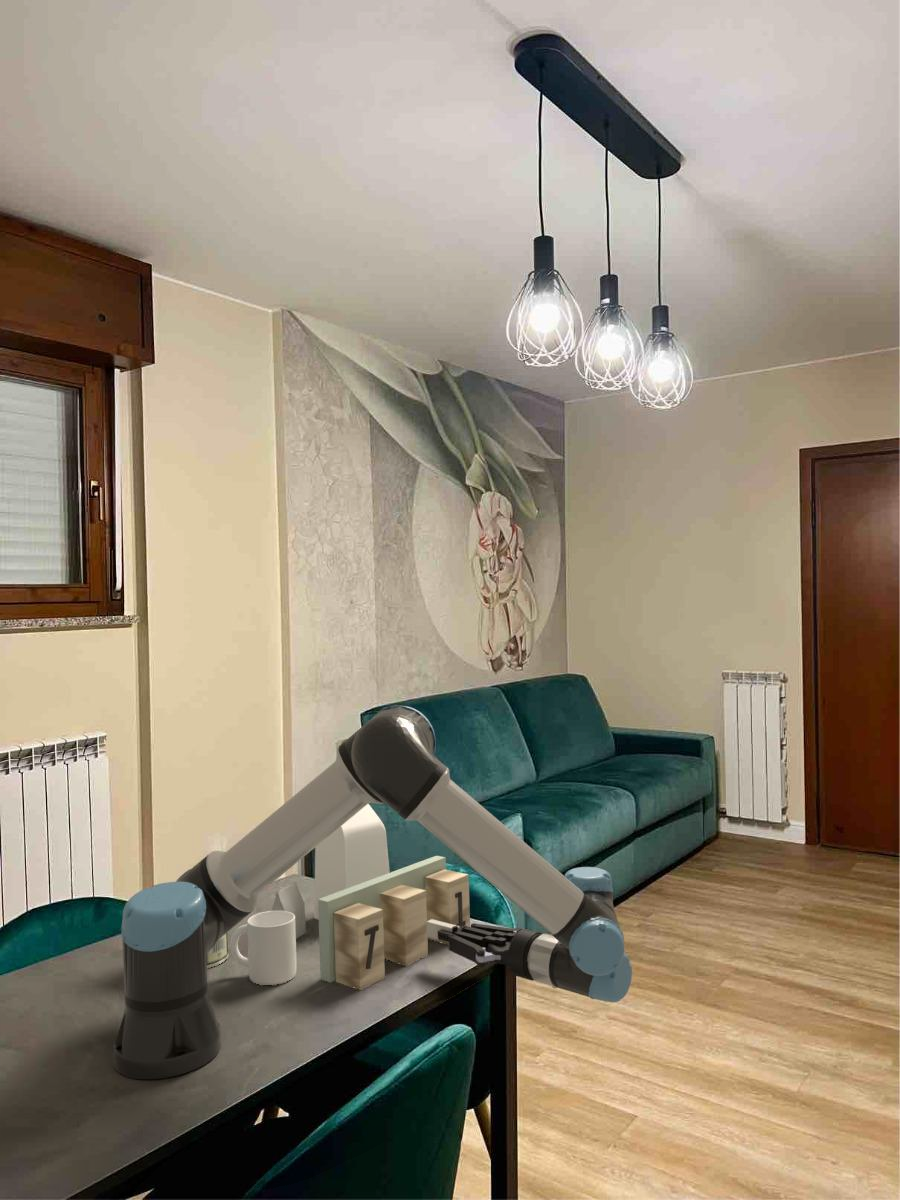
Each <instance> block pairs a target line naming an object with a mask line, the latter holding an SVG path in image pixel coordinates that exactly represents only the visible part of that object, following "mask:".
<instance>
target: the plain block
mask: <svg viewBox="0 0 900 1200" xmlns="http://www.w3.org/2000/svg"><path fill="white" fill-rule="evenodd" d="M380 909H383V931H384V960H385V959H386V960H385V961H388V960H390V961H389V962H391V961H393V962H392V963H394V962H396V963H395V964H397V963H400V964H399V965H401V964H403V965H402V966H404V965H408V964H410V963H412V962H414V961H416V960H418V959H420V958H422V957H424V958H425V956H426V955H428V956H429V946H428V941H429V939H428V938H427V906H426V890H422V889H418V888H413V887H409V886H405V885H400V886H398V887H395V888H392V889H390V890H387V891H385V892H382V893H380ZM426 957H427V956H426ZM422 959H423V958H422ZM420 960H421V959H420ZM418 961H419V960H418ZM416 962H417V961H416ZM414 963H415V962H414ZM412 964H413V963H412ZM410 965H411V964H410ZM408 966H409V965H408Z"/></svg>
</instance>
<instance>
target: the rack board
mask: <svg viewBox="0 0 900 1200" xmlns="http://www.w3.org/2000/svg"><path fill="white" fill-rule="evenodd" d="M446 858H447V857H445V856H441V855H435V856H432V857H429V858H426V859H424V860H421V861H417V862H415V863H412V864H410V865H407V866H405V867H402V868H399V869H396V870H394V871H390V873H388V874H385V875H382V876H380V877H377V878H374V879H372V880H369V881H366V882H363V883H361V884H358V885H355V886H353V887H350V888H347V889H344V890H342V891H339V892H336V893H334V894H331V895H328V896H325V897H323V898H320V899H318V912H319V920H318V934H319V935H318V940H319V942H318V943H319V968H320V971H319V972H320V975H319V976H320V980H321V981H323V980H324V982H326V981H327V983H329V984H331V983H332V982H336V970H335V938H334V912H337V911H339V910H342V909H344V908H347V907H349V906H352V905H354V904H357V903H360V904H364V905H368V906H372V907H375V908H379V909H380V893H382V892H385V891H387V890H390V889H392V888H395V887H398V886H400V885H405V886H409V887H413V888H418V889H422V890H425V877H427V876H429V875H432V874H434V873H437V872H439V871H442V870H444V869H445V870H447V860H446Z"/></svg>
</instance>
